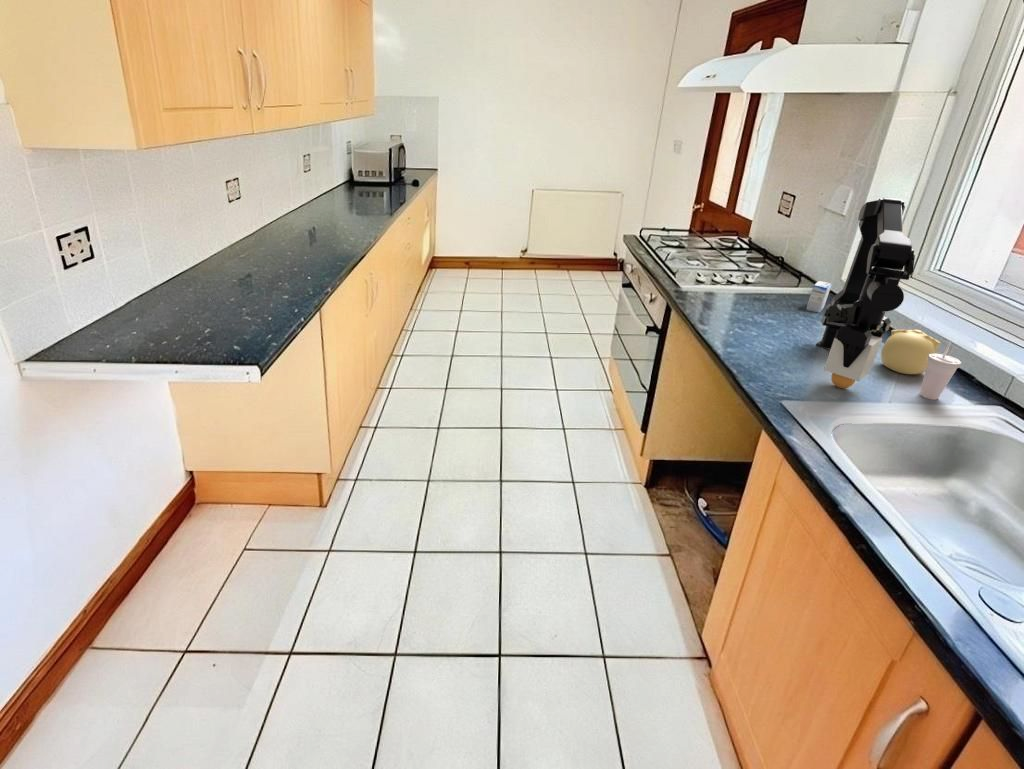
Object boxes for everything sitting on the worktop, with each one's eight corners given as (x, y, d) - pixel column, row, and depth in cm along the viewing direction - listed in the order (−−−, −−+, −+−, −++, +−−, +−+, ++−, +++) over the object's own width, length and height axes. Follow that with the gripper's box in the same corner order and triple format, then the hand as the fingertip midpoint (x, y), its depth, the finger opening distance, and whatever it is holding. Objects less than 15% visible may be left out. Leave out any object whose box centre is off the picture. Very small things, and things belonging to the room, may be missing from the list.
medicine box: (810, 304, 198) (817, 280, 194) (824, 307, 196) (832, 283, 192) (805, 309, 192) (813, 284, 188) (819, 313, 190) (828, 287, 186)
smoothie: (932, 390, 138) (955, 336, 132) (951, 402, 133) (976, 347, 126) (906, 389, 138) (929, 335, 132) (925, 401, 132) (949, 345, 126)
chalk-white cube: (869, 372, 135) (882, 338, 131) (858, 381, 130) (872, 345, 126) (835, 362, 140) (846, 328, 136) (823, 369, 135) (835, 335, 131)
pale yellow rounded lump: (931, 371, 150) (948, 332, 145) (921, 383, 142) (938, 343, 137) (883, 357, 157) (897, 319, 152) (870, 368, 149) (885, 329, 144)
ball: (863, 378, 134) (845, 389, 138) (849, 361, 136) (831, 372, 140) (855, 383, 131) (837, 394, 135) (841, 365, 133) (823, 377, 136)
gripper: (850, 283, 138) (830, 343, 145) (821, 296, 126) (801, 360, 133) (902, 295, 131) (878, 357, 138) (876, 310, 119) (852, 377, 126)
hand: (851, 362), depth 134 cm, fingers closed on chalk-white cube, 8 cm apart
